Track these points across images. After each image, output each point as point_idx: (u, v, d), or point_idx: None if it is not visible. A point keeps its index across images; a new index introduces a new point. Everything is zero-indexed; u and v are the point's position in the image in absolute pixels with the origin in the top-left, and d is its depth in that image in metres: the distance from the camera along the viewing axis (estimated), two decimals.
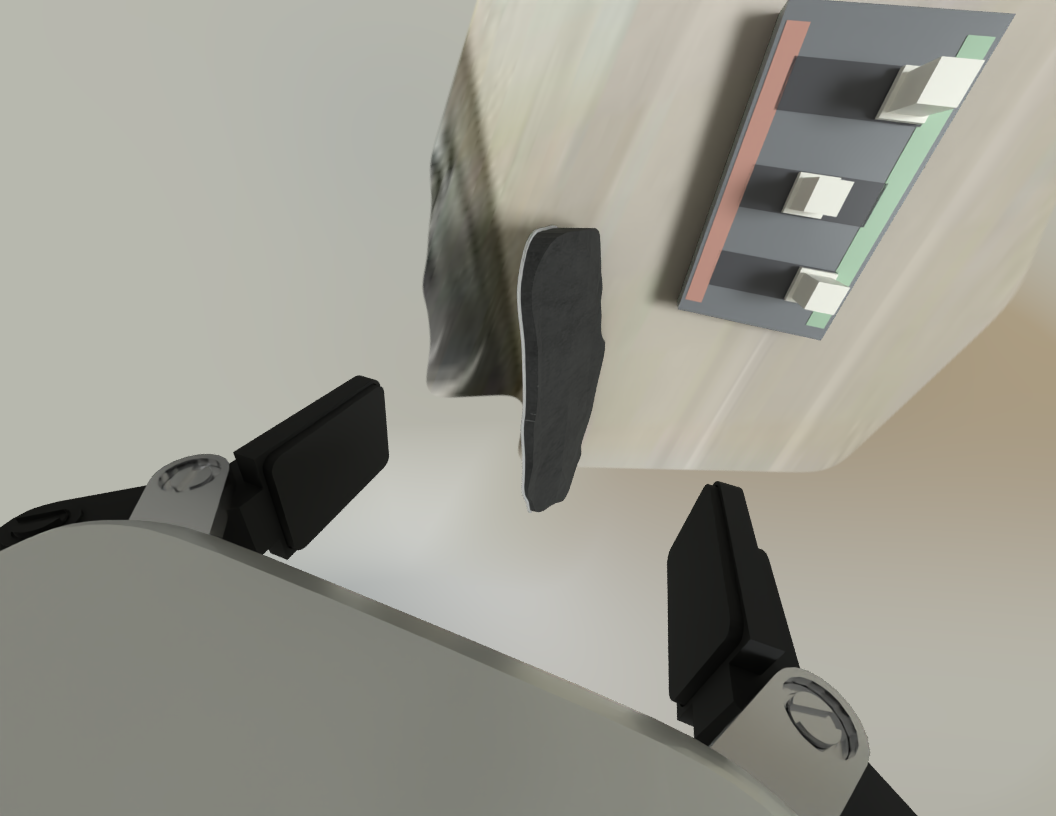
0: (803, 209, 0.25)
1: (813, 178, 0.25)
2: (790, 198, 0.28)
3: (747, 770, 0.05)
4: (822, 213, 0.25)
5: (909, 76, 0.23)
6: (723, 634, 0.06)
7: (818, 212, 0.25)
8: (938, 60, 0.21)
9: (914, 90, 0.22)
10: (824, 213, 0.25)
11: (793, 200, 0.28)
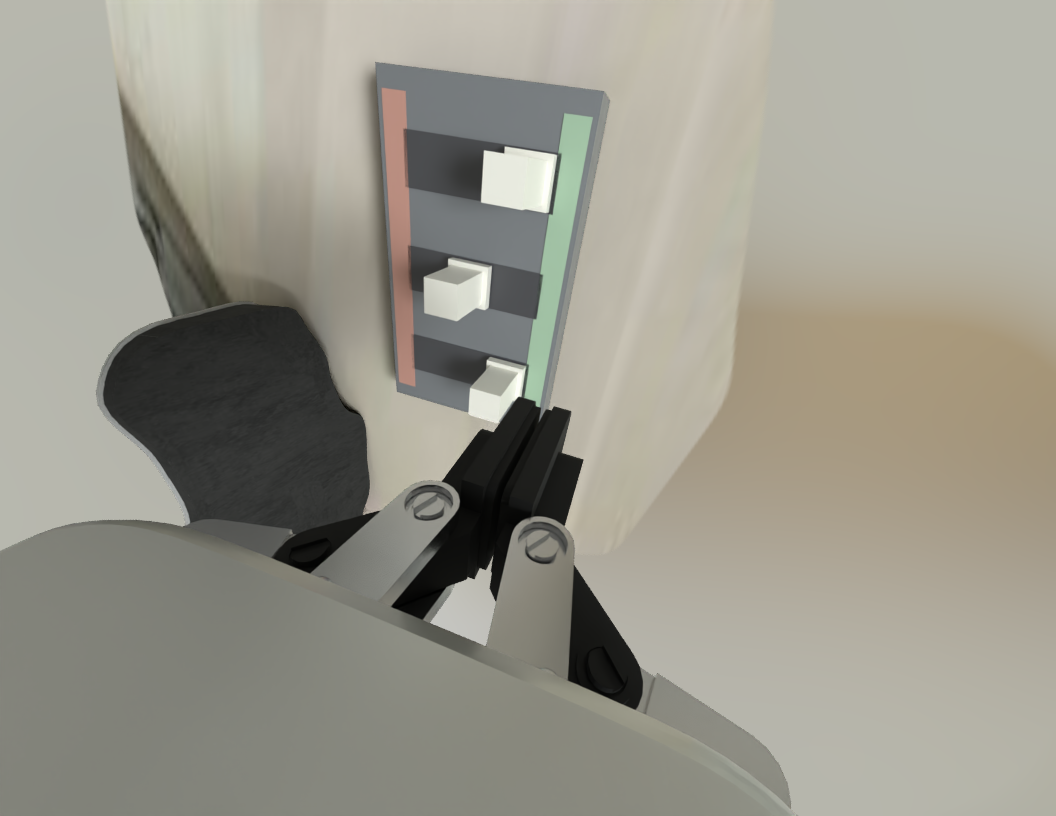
0: None
1: None
2: None
3: (517, 617, 0.06)
4: (442, 316, 0.21)
5: None
6: None
7: (438, 315, 0.21)
8: (484, 154, 0.17)
9: None
10: (444, 316, 0.21)
11: None
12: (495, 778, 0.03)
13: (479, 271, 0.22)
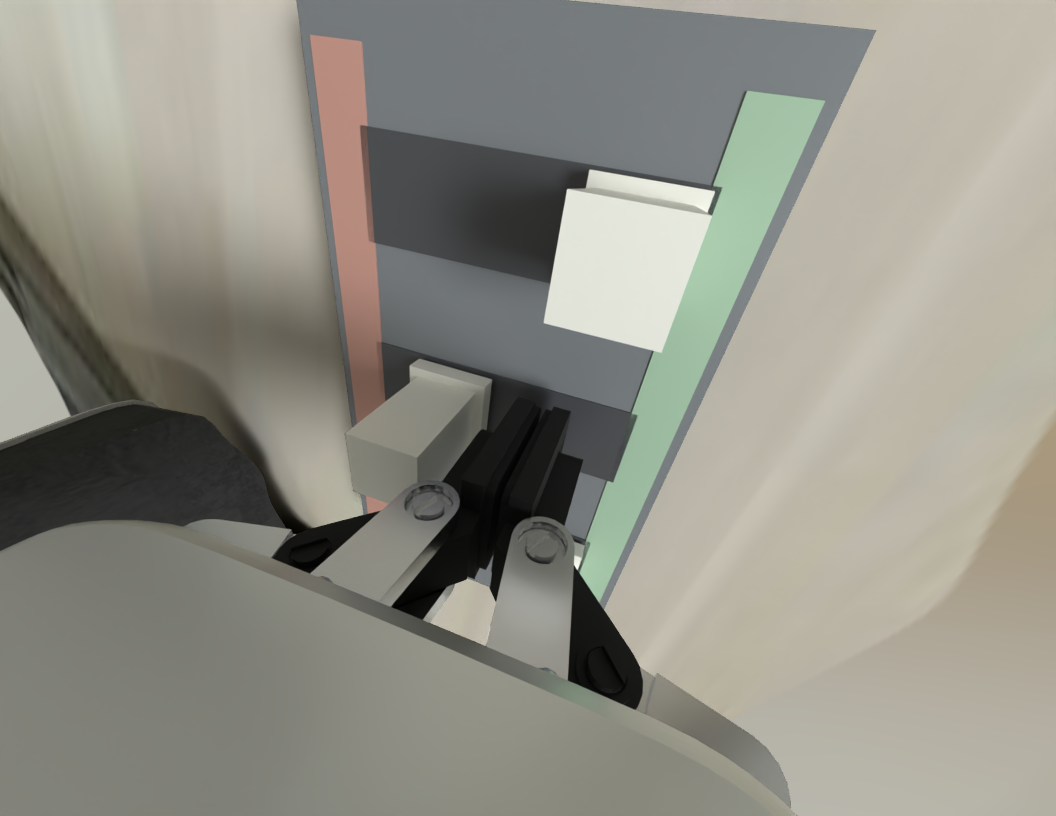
0: None
1: (374, 413, 0.10)
2: None
3: (518, 617, 0.06)
4: (388, 502, 0.10)
5: None
6: None
7: (381, 498, 0.10)
8: None
9: None
10: None
11: None
12: (494, 778, 0.03)
13: (468, 393, 0.12)
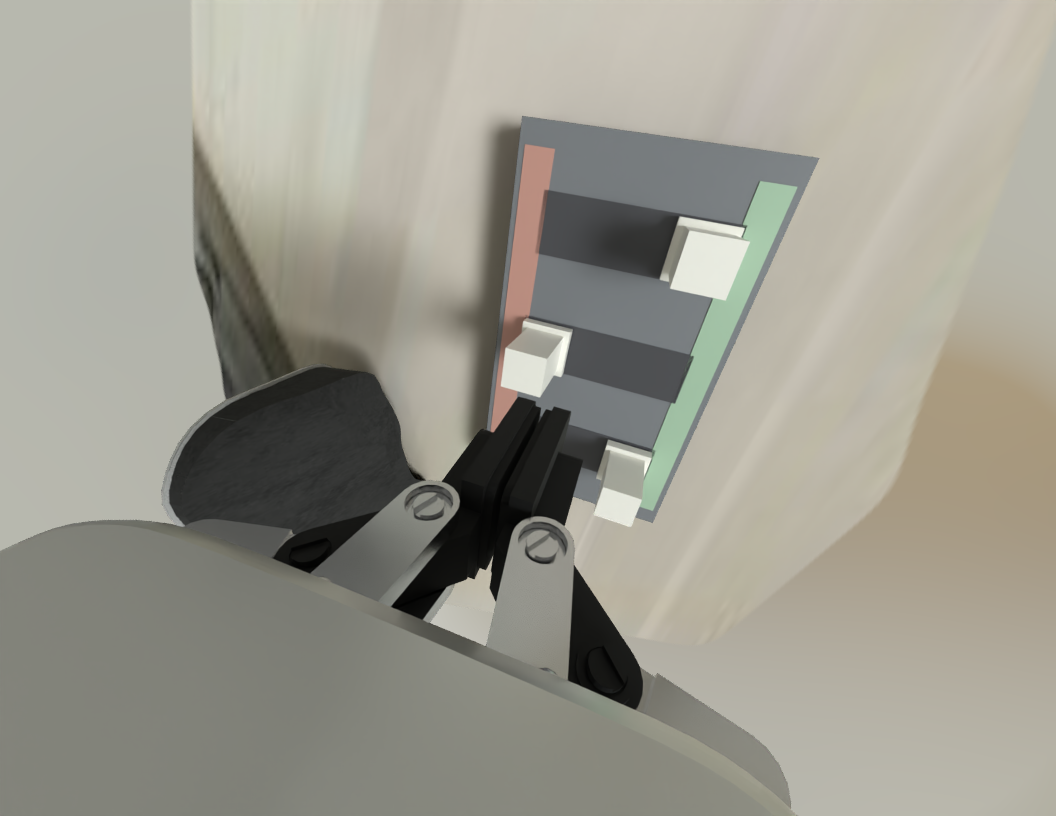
0: None
1: None
2: None
3: (518, 617, 0.06)
4: (522, 391, 0.18)
5: (682, 235, 0.16)
6: None
7: (518, 389, 0.18)
8: (687, 234, 0.13)
9: (675, 263, 0.15)
10: (525, 391, 0.18)
11: None
12: (495, 778, 0.03)
13: (559, 336, 0.20)
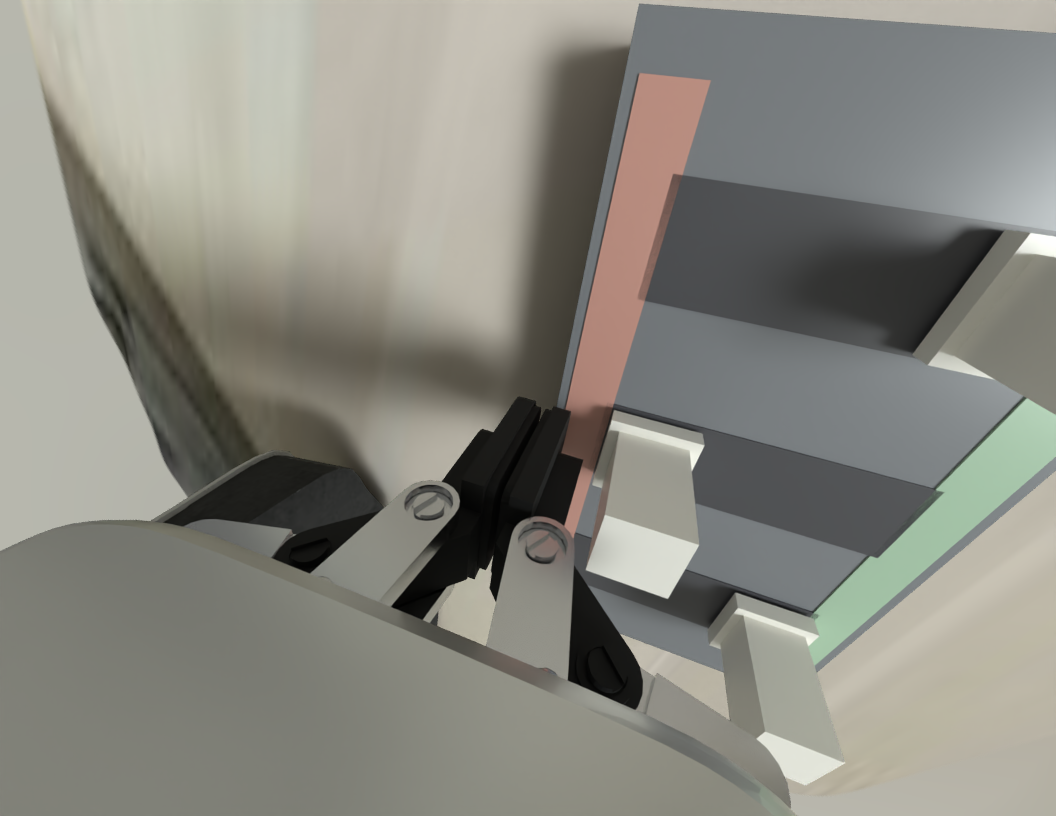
0: (587, 560, 0.09)
1: (610, 483, 0.09)
2: (601, 463, 0.12)
3: (518, 617, 0.06)
4: (631, 585, 0.09)
5: (1049, 279, 0.06)
6: None
7: (622, 580, 0.09)
8: None
9: None
10: (636, 585, 0.09)
11: (607, 468, 0.12)
12: (495, 778, 0.03)
13: (683, 451, 0.11)
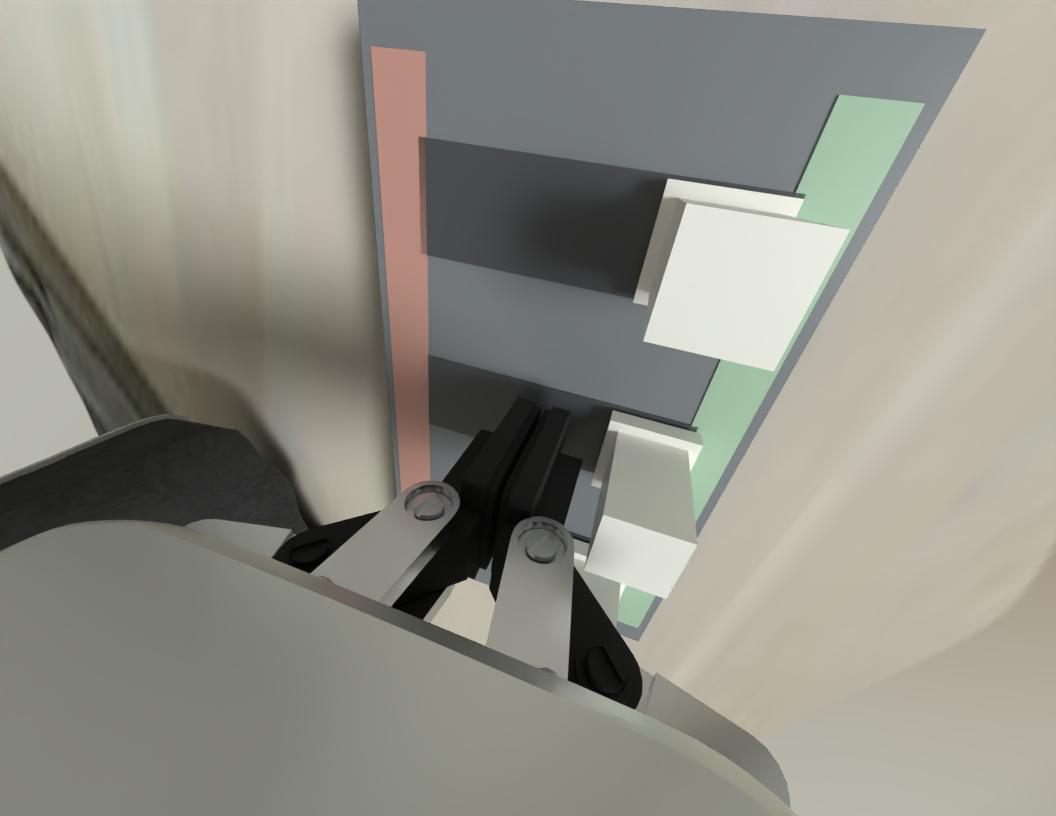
0: (586, 560, 0.09)
1: (608, 483, 0.09)
2: (600, 463, 0.12)
3: (518, 617, 0.06)
4: (630, 585, 0.09)
5: (673, 216, 0.08)
6: None
7: (620, 580, 0.09)
8: (682, 214, 0.05)
9: (658, 280, 0.07)
10: (635, 585, 0.09)
11: (606, 468, 0.12)
12: (495, 777, 0.03)
13: (681, 451, 0.11)
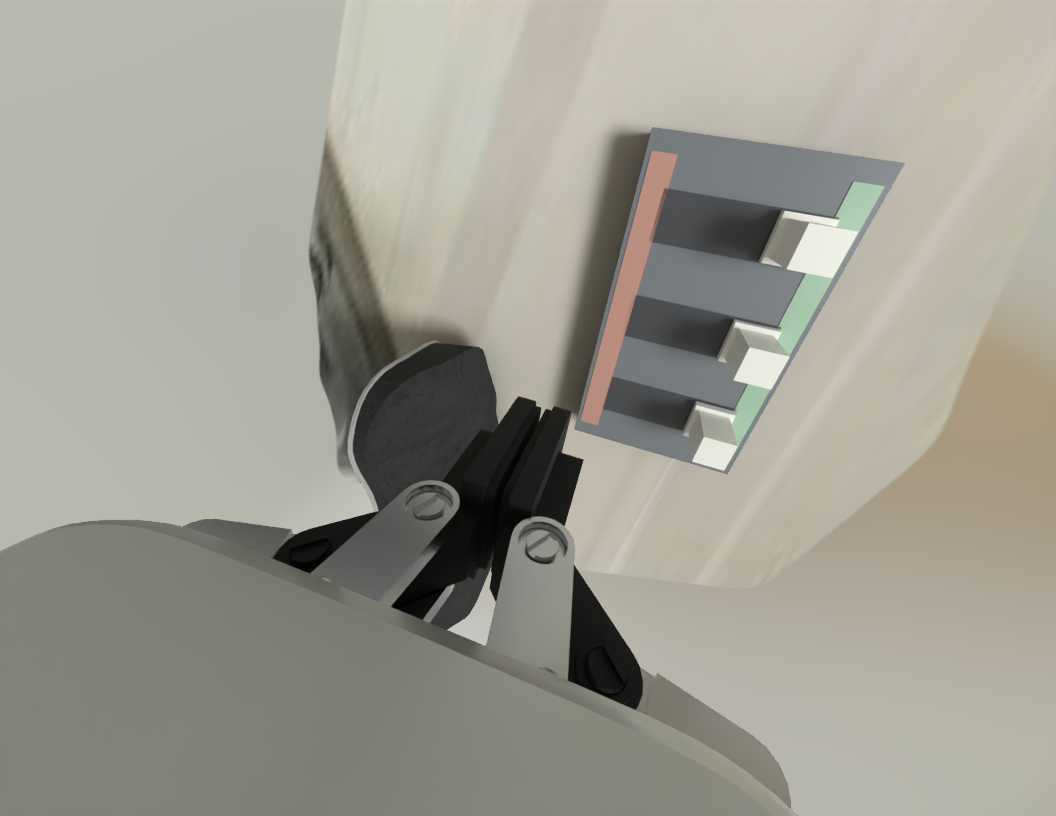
0: (733, 377, 0.21)
1: (744, 341, 0.21)
2: (725, 347, 0.24)
3: (518, 617, 0.06)
4: (755, 384, 0.21)
5: (788, 225, 0.19)
6: None
7: (750, 383, 0.21)
8: (806, 226, 0.17)
9: (787, 249, 0.18)
10: (757, 384, 0.21)
11: (728, 349, 0.24)
12: (495, 777, 0.03)
13: (770, 335, 0.22)
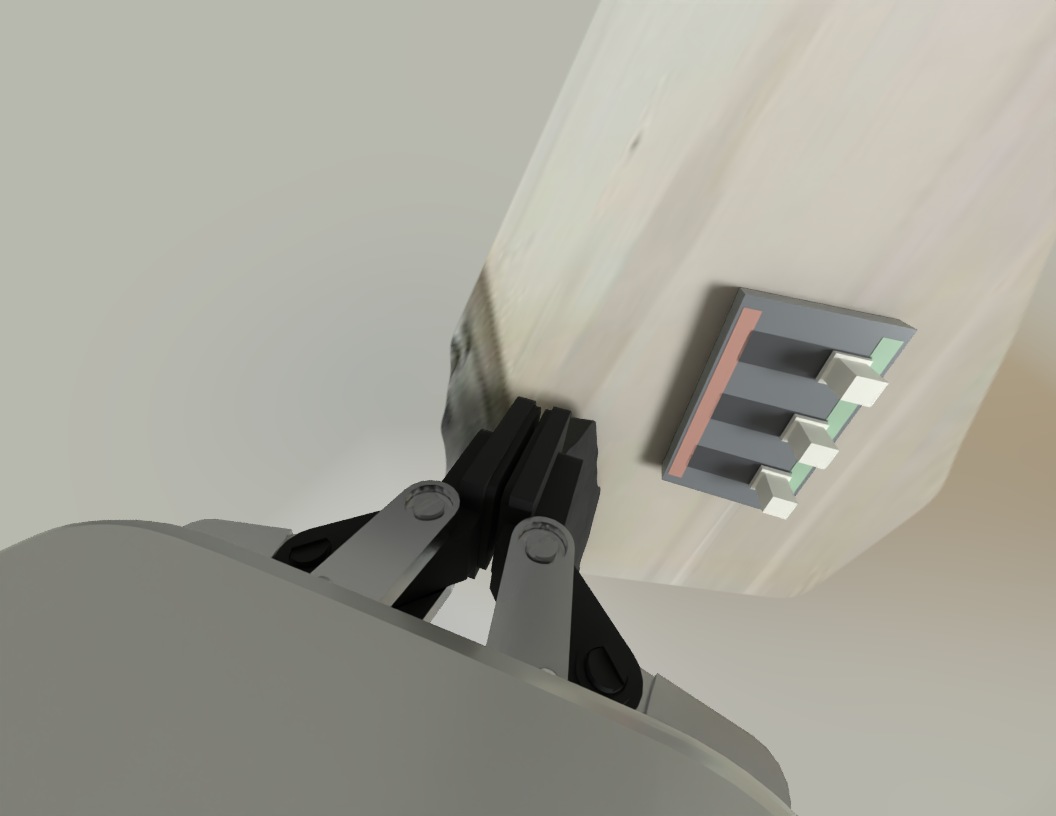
0: (798, 459, 0.31)
1: (806, 435, 0.31)
2: (787, 432, 0.33)
3: (518, 617, 0.06)
4: (813, 465, 0.30)
5: (838, 364, 0.29)
6: None
7: (810, 464, 0.31)
8: (854, 376, 0.27)
9: (840, 384, 0.28)
10: (815, 466, 0.30)
11: (790, 434, 0.33)
12: (495, 778, 0.03)
13: (821, 427, 0.32)
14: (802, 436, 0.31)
